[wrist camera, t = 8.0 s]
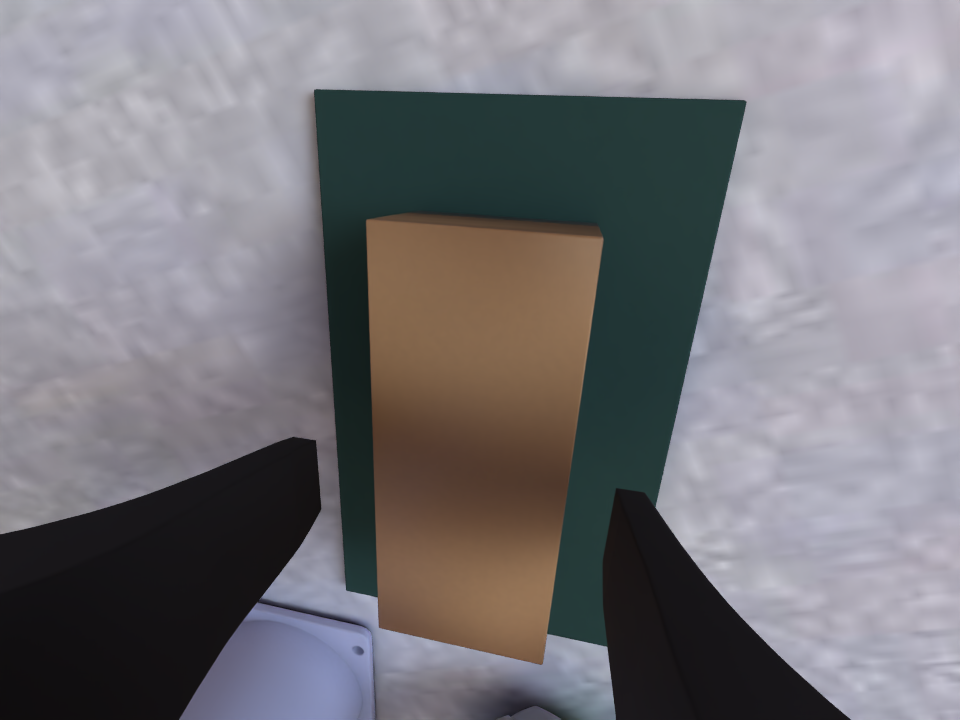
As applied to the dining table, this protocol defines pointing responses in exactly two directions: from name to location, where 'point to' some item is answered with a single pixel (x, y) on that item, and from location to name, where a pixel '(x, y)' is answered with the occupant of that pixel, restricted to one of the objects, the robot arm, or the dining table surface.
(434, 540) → the eraser
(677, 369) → the desk mat
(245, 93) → the dining table surface
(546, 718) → the soda can
